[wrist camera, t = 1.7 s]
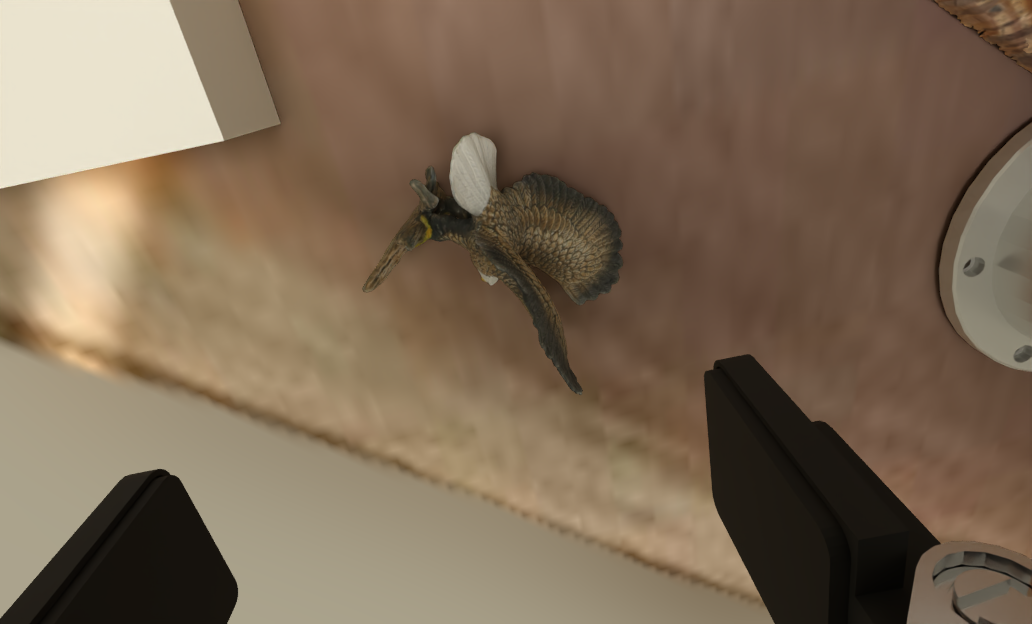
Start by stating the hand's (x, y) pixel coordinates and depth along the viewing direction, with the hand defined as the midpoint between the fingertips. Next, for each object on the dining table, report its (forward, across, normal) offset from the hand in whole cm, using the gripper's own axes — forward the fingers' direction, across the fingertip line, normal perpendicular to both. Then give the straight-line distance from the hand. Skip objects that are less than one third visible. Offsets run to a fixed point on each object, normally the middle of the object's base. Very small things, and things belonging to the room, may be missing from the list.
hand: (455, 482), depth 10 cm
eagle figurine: (+16, -2, +1) cm, 16 cm away
